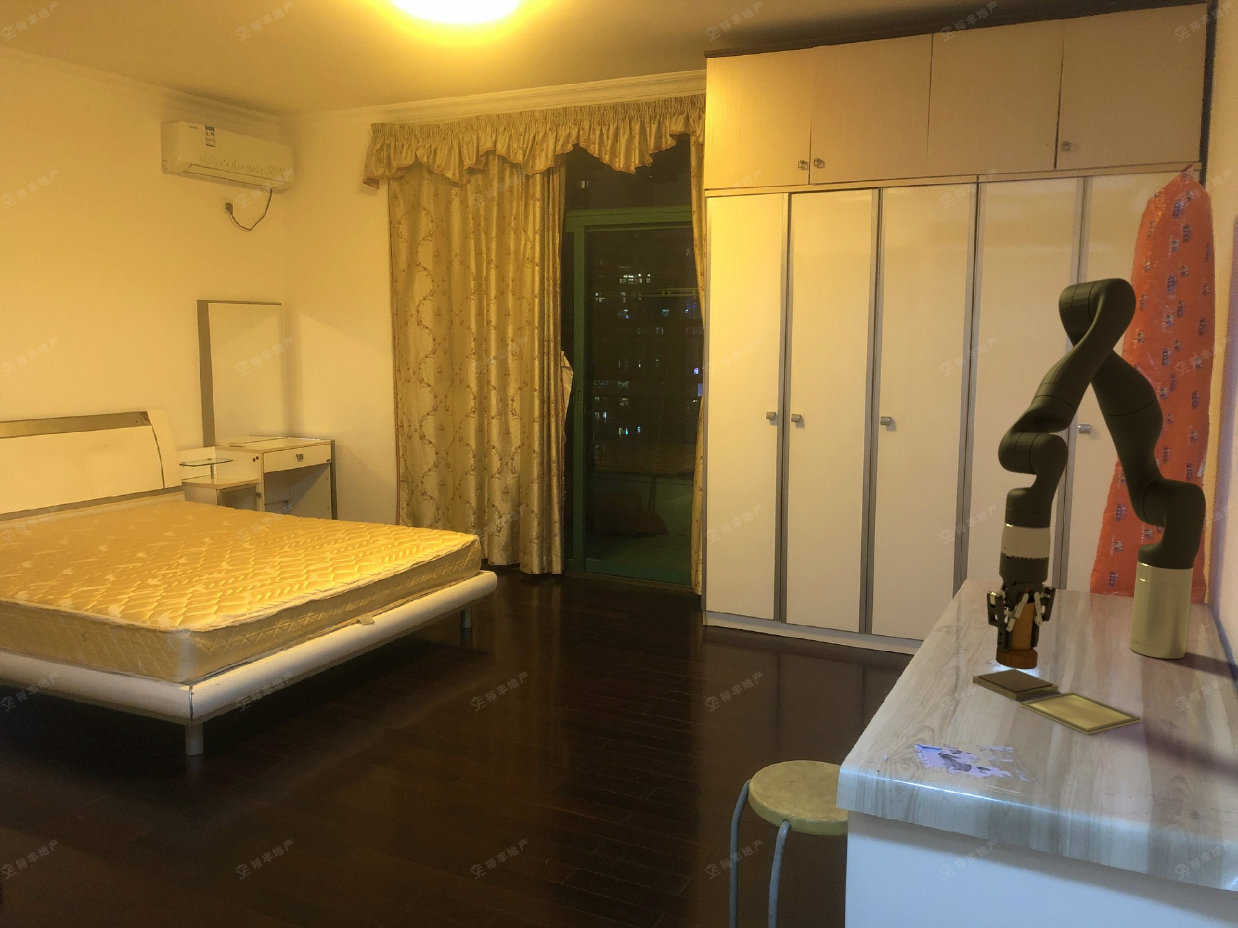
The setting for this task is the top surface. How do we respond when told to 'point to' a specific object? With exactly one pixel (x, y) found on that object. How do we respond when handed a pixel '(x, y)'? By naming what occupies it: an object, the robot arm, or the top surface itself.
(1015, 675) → the ink pad
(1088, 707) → the print card
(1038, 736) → the top surface
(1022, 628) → the brown wooden stamp
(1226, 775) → the top surface
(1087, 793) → the top surface
